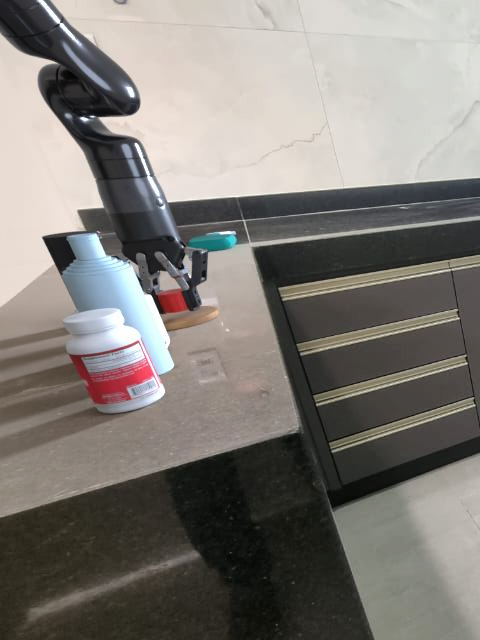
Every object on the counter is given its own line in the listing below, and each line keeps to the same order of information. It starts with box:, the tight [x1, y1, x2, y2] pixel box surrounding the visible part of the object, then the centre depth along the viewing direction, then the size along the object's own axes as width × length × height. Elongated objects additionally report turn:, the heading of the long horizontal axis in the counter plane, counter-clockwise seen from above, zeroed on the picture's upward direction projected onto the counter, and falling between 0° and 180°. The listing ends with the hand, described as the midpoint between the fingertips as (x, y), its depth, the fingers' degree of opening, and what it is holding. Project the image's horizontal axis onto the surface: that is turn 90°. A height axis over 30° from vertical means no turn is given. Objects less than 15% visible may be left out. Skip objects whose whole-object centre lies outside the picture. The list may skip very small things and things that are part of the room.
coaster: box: [159, 305, 220, 331], centre depth 90 cm, size 10×10×1 cm
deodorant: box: [41, 230, 94, 309], centre depth 88 cm, size 6×6×15 cm
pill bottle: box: [62, 308, 166, 414], centre depth 60 cm, size 6×6×11 cm
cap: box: [157, 287, 189, 313], centre depth 89 cm, size 4×4×3 cm
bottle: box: [61, 232, 175, 377], centre depth 67 cm, size 6×6×18 cm
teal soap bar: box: [187, 230, 237, 252], centre depth 155 cm, size 3×11×24 cm
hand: (180, 310), depth 90 cm, fingers closed on cap, 3 cm apart
